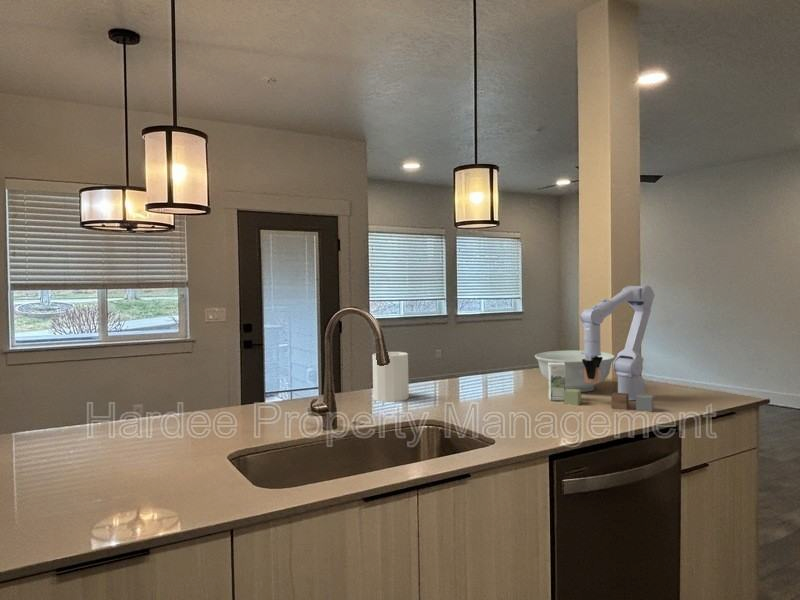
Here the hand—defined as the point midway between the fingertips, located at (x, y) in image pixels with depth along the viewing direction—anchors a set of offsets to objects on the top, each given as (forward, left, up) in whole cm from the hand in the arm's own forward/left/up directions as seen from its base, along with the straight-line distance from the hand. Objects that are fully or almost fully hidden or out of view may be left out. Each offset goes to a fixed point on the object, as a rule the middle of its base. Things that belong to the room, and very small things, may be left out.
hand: (592, 377), depth 209 cm
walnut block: (-4, +9, -10) cm, 14 cm away
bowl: (-13, -26, -10) cm, 31 cm away
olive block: (+6, -4, -10) cm, 12 cm away
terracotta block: (0, 0, -2) cm, 2 cm away
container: (+63, -46, -10) cm, 79 cm away
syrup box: (+7, -12, -10) cm, 17 cm away
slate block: (-9, +16, -10) cm, 21 cm away
